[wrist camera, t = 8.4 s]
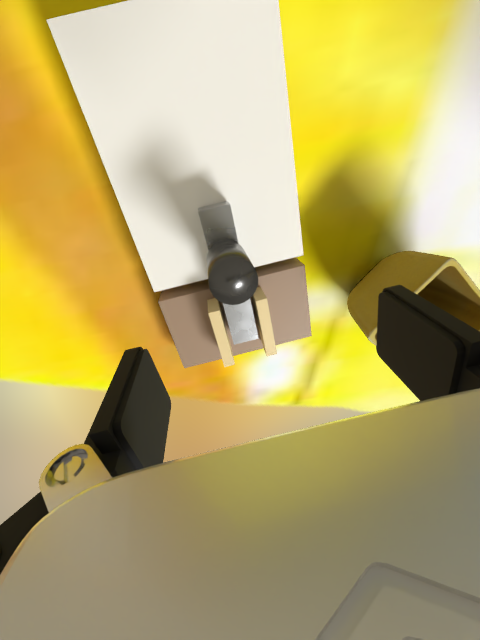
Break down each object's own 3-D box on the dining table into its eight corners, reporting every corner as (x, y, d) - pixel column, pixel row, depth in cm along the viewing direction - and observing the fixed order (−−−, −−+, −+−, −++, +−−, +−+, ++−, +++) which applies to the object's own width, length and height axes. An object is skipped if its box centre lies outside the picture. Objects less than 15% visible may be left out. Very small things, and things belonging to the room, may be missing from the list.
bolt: (231, 199, 22) (245, 211, 16) (257, 325, 28) (275, 370, 22) (193, 209, 22) (191, 224, 16) (227, 332, 28) (236, 381, 22)
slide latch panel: (264, -6, 19) (288, -69, 14) (302, 322, 33) (321, 350, 27) (66, 40, 19) (19, -7, 14) (185, 352, 32) (183, 385, 27)
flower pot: (324, 296, 31) (366, 338, 23) (384, 232, 29) (454, 255, 21) (370, 334, 35) (421, 382, 27) (428, 280, 32) (503, 315, 24)
